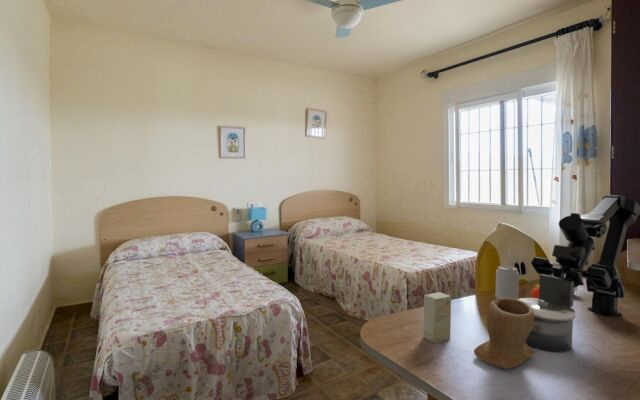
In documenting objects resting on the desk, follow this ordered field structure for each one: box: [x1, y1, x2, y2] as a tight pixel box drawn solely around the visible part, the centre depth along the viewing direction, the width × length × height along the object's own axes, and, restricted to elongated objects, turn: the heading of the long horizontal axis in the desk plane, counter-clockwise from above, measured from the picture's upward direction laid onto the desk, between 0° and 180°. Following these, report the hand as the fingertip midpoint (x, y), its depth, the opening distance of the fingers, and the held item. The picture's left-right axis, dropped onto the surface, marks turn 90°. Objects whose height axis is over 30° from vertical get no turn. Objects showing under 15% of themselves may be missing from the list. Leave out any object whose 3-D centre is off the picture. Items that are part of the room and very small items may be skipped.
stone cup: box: [473, 297, 535, 369], centre depth 85 cm, size 15×12×15 cm
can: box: [494, 265, 520, 299], centre depth 128 cm, size 8×8×12 cm
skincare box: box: [423, 291, 452, 344], centre depth 97 cm, size 6×4×12 cm
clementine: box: [529, 284, 539, 299], centre depth 122 cm, size 8×7×7 cm
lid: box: [518, 274, 576, 322], centre depth 95 cm, size 14×14×8 cm
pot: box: [525, 318, 574, 353], centre depth 98 cm, size 13×20×8 cm, turn 31°
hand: (557, 295), depth 99 cm, fingers closed, pressing on lid
